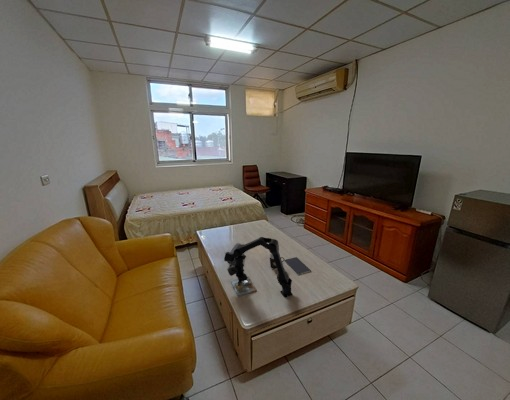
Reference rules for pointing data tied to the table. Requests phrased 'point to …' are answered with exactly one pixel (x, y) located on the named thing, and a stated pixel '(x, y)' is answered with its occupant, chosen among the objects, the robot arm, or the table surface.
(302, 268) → the notebook
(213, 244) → the table surface
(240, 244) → the bluetooth speaker
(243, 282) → the latch bar
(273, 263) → the coffee mug
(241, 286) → the door panel
